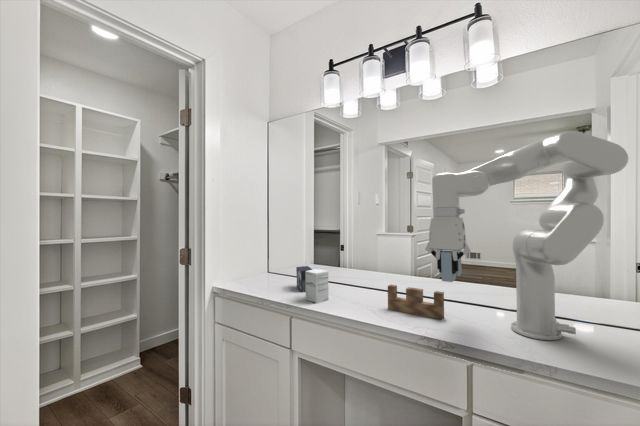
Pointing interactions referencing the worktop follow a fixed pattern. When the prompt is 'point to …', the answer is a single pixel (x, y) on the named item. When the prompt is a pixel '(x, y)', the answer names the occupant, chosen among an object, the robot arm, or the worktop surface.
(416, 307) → the notched board
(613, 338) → the worktop surface
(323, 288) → the supplement box
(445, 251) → the crosspiece
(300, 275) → the small box
